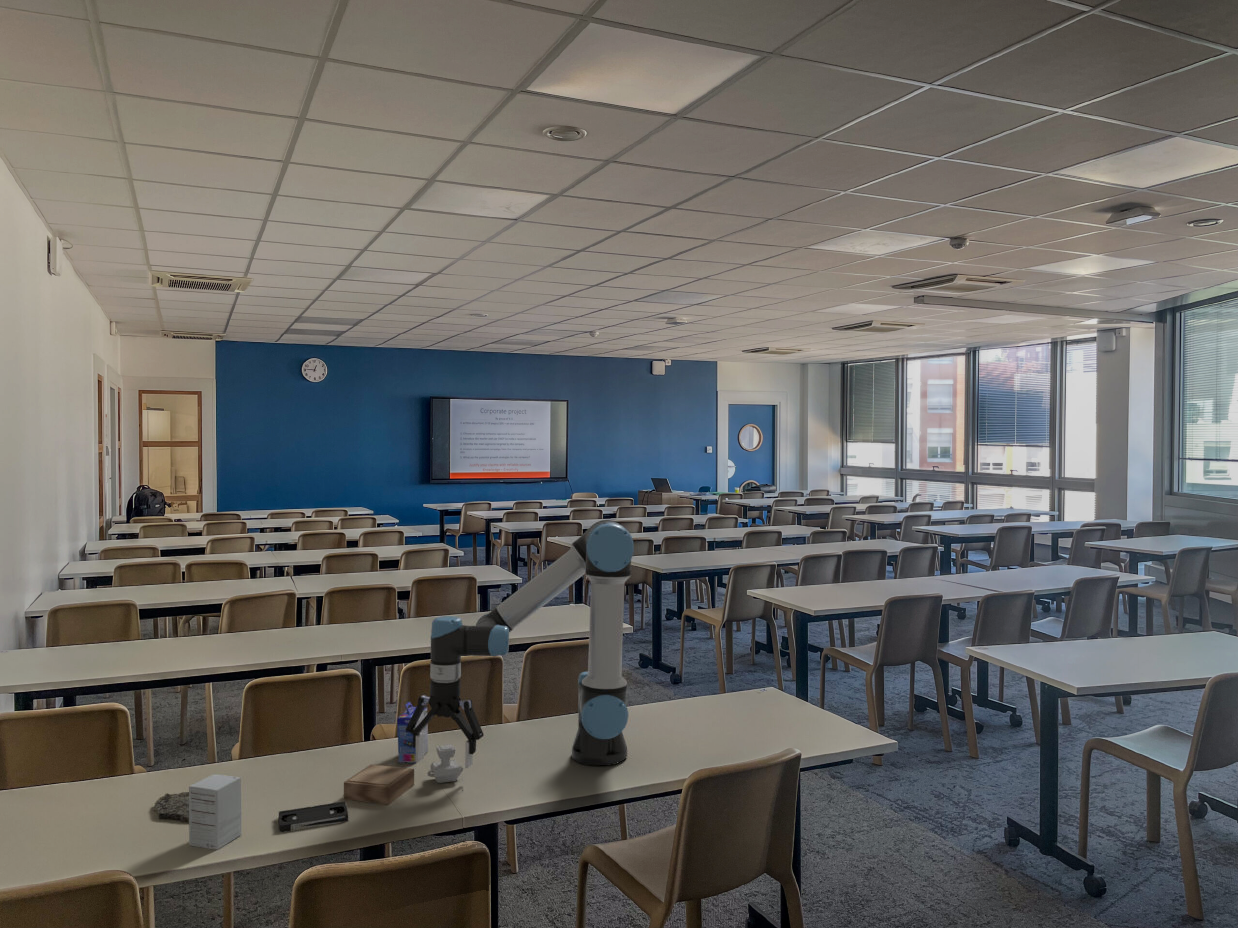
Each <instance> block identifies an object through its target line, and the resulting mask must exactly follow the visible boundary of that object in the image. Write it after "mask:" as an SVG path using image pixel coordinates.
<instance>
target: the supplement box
mask: <svg viewBox="0 0 1238 928" xmlns="http://www.w3.org/2000/svg"><path fill="white" fill-rule="evenodd" d="M188 792H189V823H188V828H189V829H188V831H189V833H188V835H189V836H188V838H189V840H188V841H189V842H188V843H189V845H190V846H192V847H196V848H204V849H209V850H215V851H216V850H217V851H218V850H219V849H220V848H223V847H224V846H226V845H227V844H229V843H231V842H232V841H234V840H235V839H237V838H239V837H240V836H242V777H239V776H231V775H224V774H218V773H217V774H216V773H215V774H214V773H213V774H210V775H209V776H207V777H205V778H203V779H200V780H199V781H196V782H195V783H193V784H191V785H189V786H188Z"/></svg>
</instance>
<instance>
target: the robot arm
mask: <svg viewBox="0 0 1238 928" xmlns="http://www.w3.org/2000/svg"><path fill="white" fill-rule="evenodd" d="M634 552H635V545H634V539H633V537H632V535H631V534H630V532H629V531H628V529H626V527H624V526H623V525H621V524H620V523H618V522H617V521H615V520H611V519H603V520H598V521H597V522H595V523H593V524H592V525H591V526H590V527H588V529H587V530H586V531H585V532H584V533H583V534H581V535H580V536H579V538H577V539H576V540H575V541H574V542H572V543H571V544H570V549H569V550H568V551H566V553H564V554H563V555H562V556H560V557H559V558H557V559H556V560H555V561H554V562H552V563H551V564H550V565H548V567H546V568H545V569H544V570H542V571H541V572H540V573H538V574H537V575H536V576H534V577H533V578H532V579H531V580H530V581H528V582H526V584H525V585H524V584H523V586H522V587H520V588H519V589H518V590H516V591H515V592H514V593H513V594H511V595H510V596H509V597H507V598H506V599H505V600H503V601H502V602H501V603H500V604H499V605H497V606H496V607H495V608H494V609H492V610H491V611H490V612H488V613H486V614H485V613H484V614H483V615H482V616H481V617H480V618H479V619H478V620H477V622H476V623H475V625H465V624H463V623H462V622H463V621H462V618H461V617H459V616H451V615H446V616H445V615H444V616H443V615H442V616H439V617H435V618H434V619H433V620H432V622H431V631H430V632H431V633H430V669H429V670H430V673H429V675H430V676H429V677H430V679H431V680H430V681H429V682H430V683H429V694H430V696H427V695H426V694H423V695H421V696H419V697H418V698H417V705H416V706H415V707H416V709H415V711H414V713H413V715H412V717H411V719H410V721H409V723H408V725H407V727H406V732H410V733H412V735H413V747H414V748H416V754H415V762H417V763H419V762H420V761H422V760H423V759H424V755H423V740H424V733H420V732H421V731H422V729H423V728H424V727H425V726H426V725H427V724H429V723H430V722H431V720H433V718H434V717H435V715H436V716H437V717H438V718H441V717H444V718H447V719H448V718H451V719H452V720H453V721H454V722H455V723H456V725H457V726H458V727H459V729H460V730H461V732H462V733H463V734H464V736H465V738H466V739H467V740H466V741H465V748H464V749H465V751H464V756H465V757H464V759H465V760H464V761H465V762H464V768H465V769H469V768H470V767H472V765H473V757H474V754H475V753H476V752H477V741H478V740H480V739H482V738H483V737H484V734H485V733H484V732H483V730H482V727H481V724H480V722H479V720H478V718H477V716H476V715H477V714H476V712H475V709H474V707H473V701H472V698H468V699H467V700H461V679H460V678H461V677H462V674H461V673H462V668H461V667H462V663H461V662H462V656H463V657H467V656H468V657H469V656H472V657H473V656H474V657H475V656H477V657H478V656H479V657H494V658H495V657H499V656H500V657H501V656H507V654H508V653H509V651H510V650H509V647H510V633H511V632H512V631H513V630H514V629H515V628H516V627H518V626H520V624H522V623H523V622H525V621H526V620H527V619H528V618H529V617H530V618H531V616H532V615H533V614H535V613H536V612H537V611H539V610H540V609H541V608H543V607H544V606H545V605H546V604H548V603H549V602H551V600H553V599H555V597H557V596H558V595H560V594H561V593H562V592H563V591H565V590H566V589H567V588H569V586H571V585H573V583H575V582H576V581H577V580H579V579H580V578H581V577H582V576H584V575H585V576H586V577H587V579H589V581H590V605H589V631H588V632H589V633H588V636H589V637H588V661H587V663H588V664H587V665H588V666H587V667H588V668H587V671H582V672H581V673H579V675H578V681H577V685H578V694H577V695H578V698H577V699H578V705H577V706H578V707H577V708H578V709H577V710H578V715H577V716H578V718H577V719H578V723H577V726H578V728H577V731H576V734H575V737H574V740H573V744H572V746H571V757H572V760H573V761H574V762H577V763H578V762H579V764H581V763H582V765H585V764H587V766H592V765H598V766H597V767H600V766H599V765H607V766H609V765H608V764H613V765H615V764H614V763H617V762H620V761H622V760H624V759H625V758H626V757H627V758H628V746H627V742H626V740H625V736H624V734H623V731H624V730H625V728H626V726H627V724H628V720H629V711H628V707H627V700H628V699H627V698H628V696H627V695H628V681H627V680H626V679H625V678H624V676H622V672H623V671H622V667H623V659H622V658H623V640H624V639H623V638H624V637H623V636H624V635H623V633H624V610H625V609H624V608H625V583H626V582H627V581H628V579H630V578H631V575H632V574H631V572H632V559H633V556H634ZM428 704H429V706H430V708H431V709H430V710H429V711H427V715H426V716H425V718H424V719H423V720H422V721H421V722H420V723H419V725H418V726H417V727H415V726H416V724H417V722H418V720H419V718H420V716H421V714H422V712H423V710H424V708H425V707H427V705H428ZM460 707H461V708H462V710H463V711H464V712H462V710H461V709H460ZM463 713H464V714H465V716H464V715H463ZM465 717H466V718H465ZM466 719H467V720H466ZM627 758H626V759H627ZM626 759H625V760H626ZM625 760H624V761H625ZM622 762H623V761H622ZM620 763H621V762H620ZM617 764H618V763H617Z"/></svg>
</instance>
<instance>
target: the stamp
mask: <svg viewBox="0 0 1238 928" xmlns="http://www.w3.org/2000/svg"><path fill="white" fill-rule="evenodd" d="M435 747H436V753H437V756H438V758H439V760H440V761H436V762H435V761H433V762H432V763H431V764H430V769H429V770H428V771H427V773H426V774H427V776H428V777H432V778H434V779H435V781H436V782H437V784H443V783H444V784H445V783H450V782H456V781H457V779H458V778H459V776H460V775H461V773H462V772H463V771H464V768H463V766H462V765H458V763H457V761H456V760H455V759H452V758H454V757H455V755H456V754H455V753H456V748H455V747H454V745H453V744H444V745H438V746H437V745H436V746H435ZM451 759H452V760H451Z"/></svg>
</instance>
